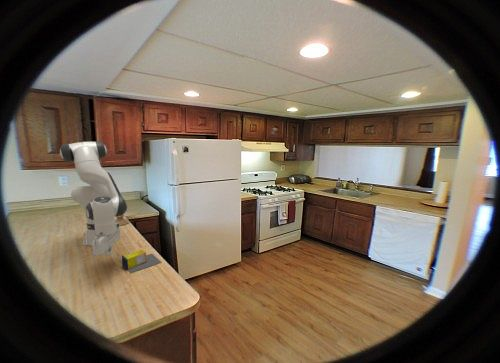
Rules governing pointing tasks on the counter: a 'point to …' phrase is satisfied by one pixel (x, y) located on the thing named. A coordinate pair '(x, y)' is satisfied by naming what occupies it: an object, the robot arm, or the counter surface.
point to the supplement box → (133, 259)
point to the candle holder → (121, 220)
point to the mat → (146, 263)
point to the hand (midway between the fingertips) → (108, 254)
